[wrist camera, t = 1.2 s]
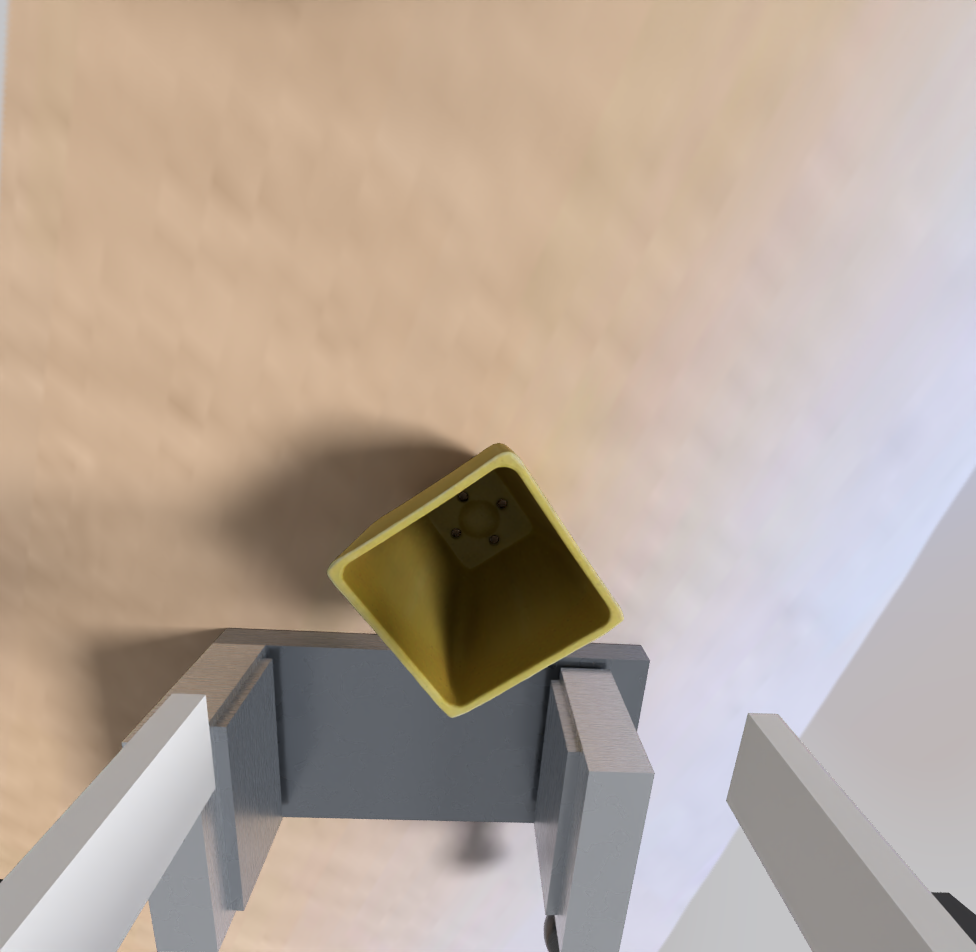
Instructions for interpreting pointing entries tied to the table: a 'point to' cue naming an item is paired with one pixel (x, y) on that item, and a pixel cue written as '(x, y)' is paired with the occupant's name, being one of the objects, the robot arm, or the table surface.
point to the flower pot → (475, 583)
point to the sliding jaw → (589, 811)
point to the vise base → (344, 756)
